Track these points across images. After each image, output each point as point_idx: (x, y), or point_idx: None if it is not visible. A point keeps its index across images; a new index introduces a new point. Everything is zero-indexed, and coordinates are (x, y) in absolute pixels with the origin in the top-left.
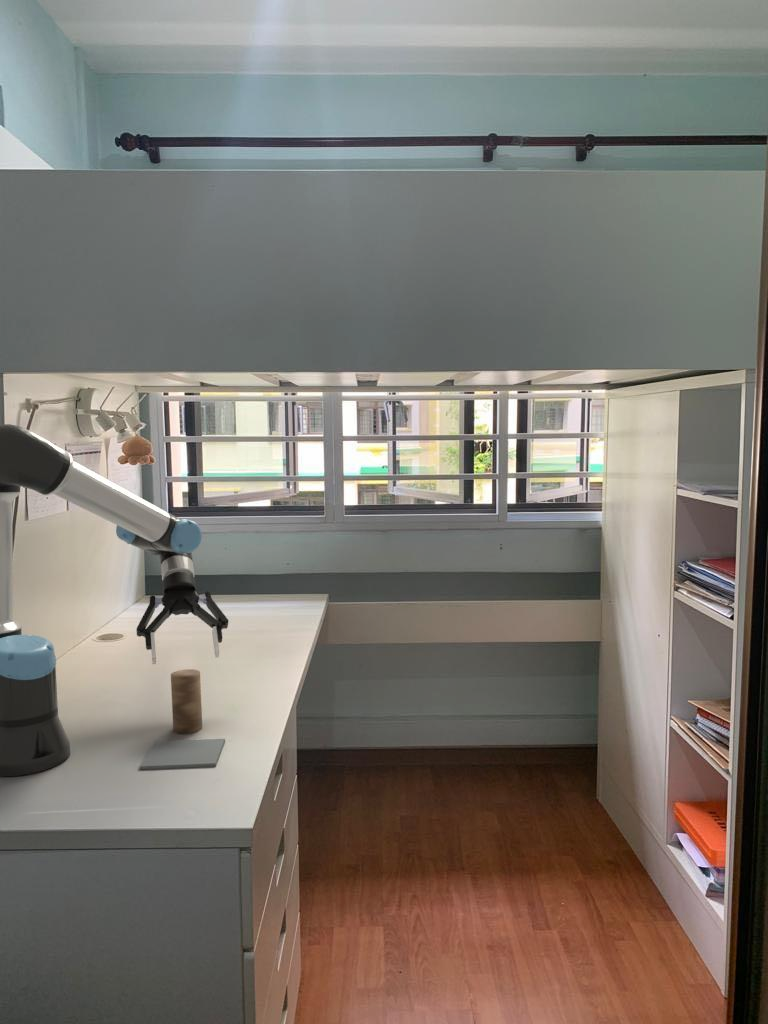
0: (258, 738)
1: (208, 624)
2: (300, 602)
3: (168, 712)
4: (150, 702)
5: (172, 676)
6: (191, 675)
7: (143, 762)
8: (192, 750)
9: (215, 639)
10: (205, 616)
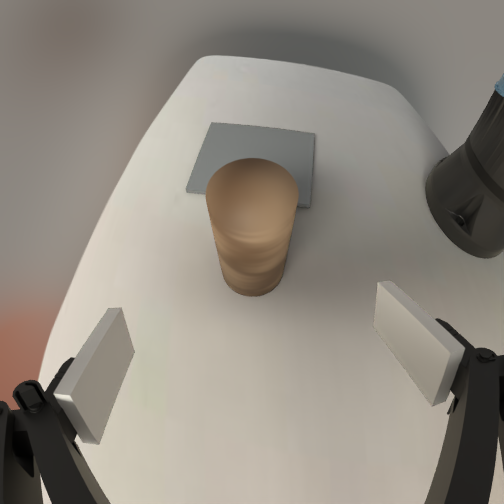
0: (133, 199)
1: (96, 482)
2: None
3: (304, 392)
4: (353, 471)
5: (290, 175)
6: (233, 171)
7: (311, 141)
8: (241, 158)
9: (96, 342)
10: (77, 473)
